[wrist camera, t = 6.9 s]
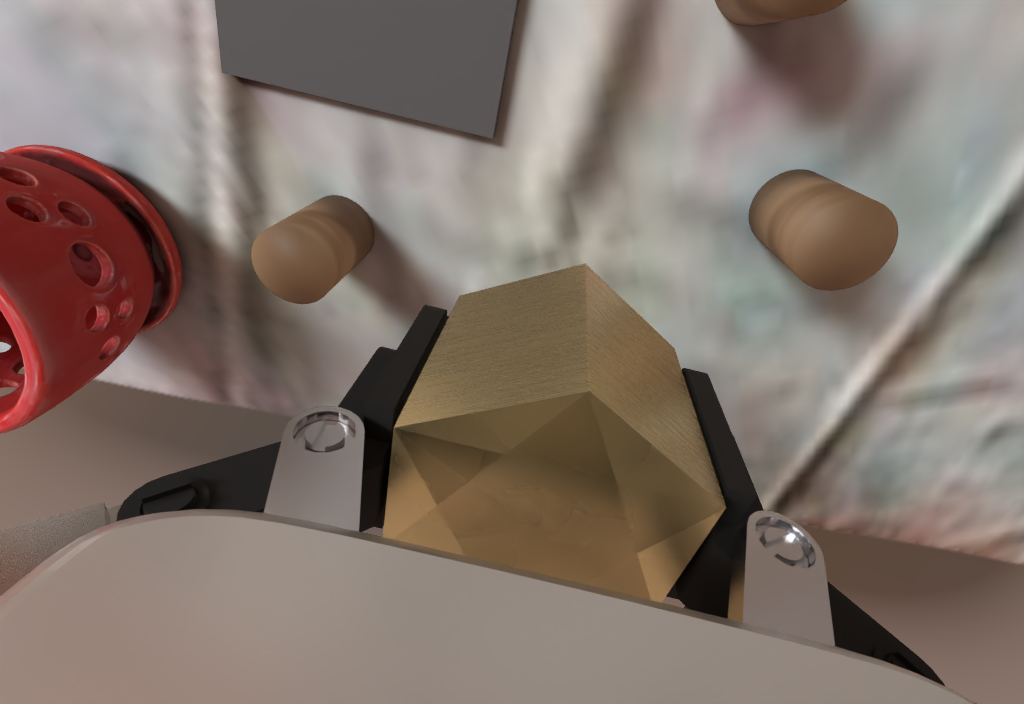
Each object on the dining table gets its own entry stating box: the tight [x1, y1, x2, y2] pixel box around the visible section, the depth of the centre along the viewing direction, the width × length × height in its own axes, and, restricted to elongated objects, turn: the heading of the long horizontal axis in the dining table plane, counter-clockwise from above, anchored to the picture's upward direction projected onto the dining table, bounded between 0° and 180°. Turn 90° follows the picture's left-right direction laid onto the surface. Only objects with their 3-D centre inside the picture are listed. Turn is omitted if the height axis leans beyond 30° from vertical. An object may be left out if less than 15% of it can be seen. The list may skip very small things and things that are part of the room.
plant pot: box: [0, 145, 182, 434], centre depth 25 cm, size 13×13×12 cm
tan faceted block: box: [383, 264, 726, 603], centre depth 11 cm, size 6×6×5 cm
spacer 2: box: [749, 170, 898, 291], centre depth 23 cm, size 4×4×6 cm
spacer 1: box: [251, 195, 374, 304], centre depth 26 cm, size 4×4×6 cm
